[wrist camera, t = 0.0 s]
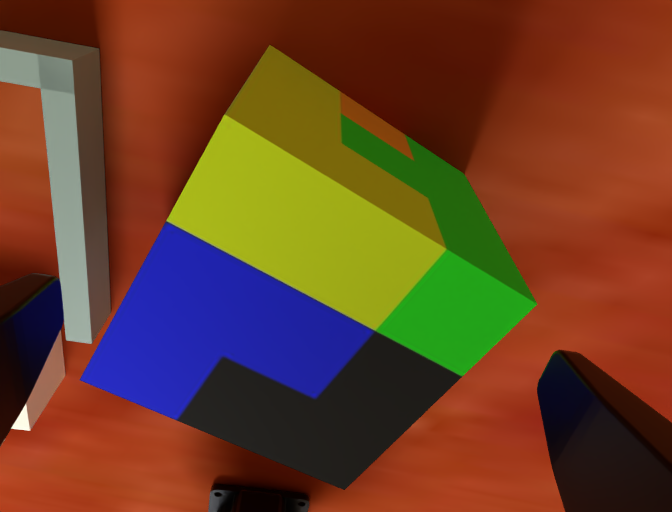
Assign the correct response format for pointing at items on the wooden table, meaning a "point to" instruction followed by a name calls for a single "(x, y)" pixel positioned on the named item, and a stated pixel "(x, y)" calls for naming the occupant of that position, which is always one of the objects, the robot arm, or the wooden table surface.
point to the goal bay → (70, 168)
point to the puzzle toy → (311, 283)
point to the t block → (43, 387)
